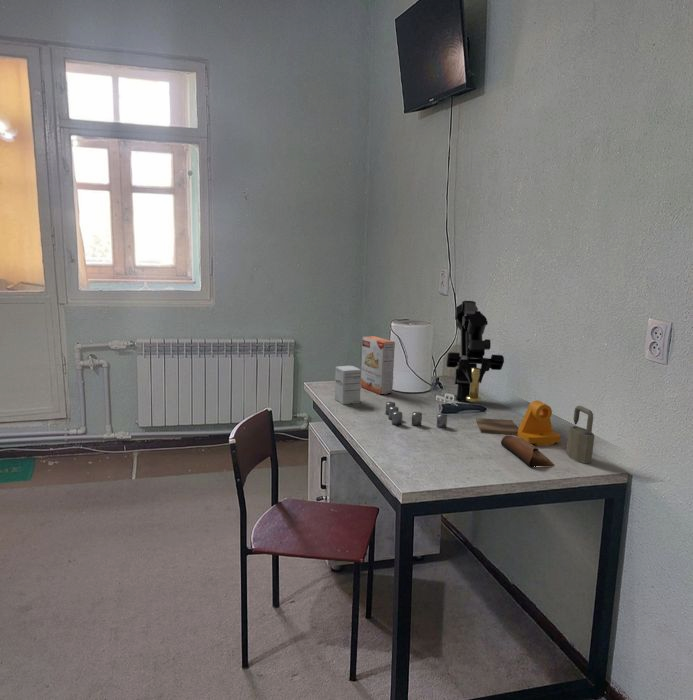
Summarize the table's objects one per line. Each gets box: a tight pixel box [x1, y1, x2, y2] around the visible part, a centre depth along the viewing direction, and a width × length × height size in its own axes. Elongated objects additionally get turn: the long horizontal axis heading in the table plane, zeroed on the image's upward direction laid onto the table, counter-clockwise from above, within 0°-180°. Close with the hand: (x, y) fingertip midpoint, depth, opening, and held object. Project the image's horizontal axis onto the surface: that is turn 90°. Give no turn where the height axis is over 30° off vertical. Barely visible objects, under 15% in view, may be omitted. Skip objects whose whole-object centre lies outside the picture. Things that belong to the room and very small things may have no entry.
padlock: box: [565, 405, 595, 464], centre depth 167 cm, size 4×8×15 cm, turn 14°
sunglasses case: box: [500, 434, 555, 468], centre depth 168 cm, size 18×7×7 cm, turn 11°
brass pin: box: [466, 367, 482, 403], centre depth 198 cm, size 5×5×11 cm
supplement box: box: [334, 365, 362, 405], centre depth 216 cm, size 7×7×13 cm
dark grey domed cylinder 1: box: [385, 401, 396, 416], centre depth 203 cm, size 3×3×4 cm
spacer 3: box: [391, 411, 403, 427], centre depth 192 cm, size 3×3×4 cm
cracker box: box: [360, 335, 396, 395], centre depth 232 cm, size 14×6×21 cm, turn 33°
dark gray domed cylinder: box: [411, 411, 423, 428], centre depth 192 cm, size 3×3×4 cm
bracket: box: [517, 400, 562, 447], centre depth 180 cm, size 11×7×12 cm, turn 103°
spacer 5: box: [436, 413, 448, 429], centre depth 191 cm, size 3×3×4 cm
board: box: [475, 417, 519, 436], centre depth 193 cm, size 12×12×1 cm
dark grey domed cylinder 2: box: [388, 405, 400, 421], centre depth 198 cm, size 3×3×4 cm
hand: (475, 382), depth 197 cm, fingers closed on brass pin, 3 cm apart
